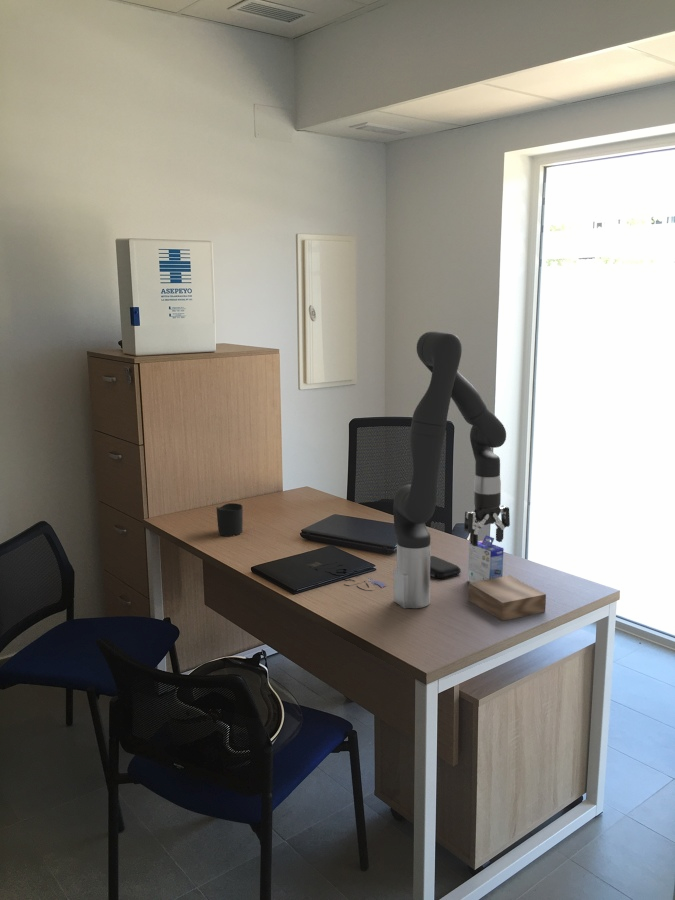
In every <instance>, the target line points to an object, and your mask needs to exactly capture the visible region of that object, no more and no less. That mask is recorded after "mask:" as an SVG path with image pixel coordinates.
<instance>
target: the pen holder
mask: <svg viewBox="0 0 675 900" xmlns="http://www.w3.org/2000/svg"><path fill="white" fill-rule="evenodd" d="M243 509H244V508H243V505H242V504H240V503H235V502H234V503H231V502H230V503H226V504H223V505H221V506H220V507H218V506H217V507H216V517H217V518H216V519H217V531H218V534H219V535H220V536H222V535H224V536H223V537H234V536H233V535H236V536H239V535H241V534H242V533H243V511H244V510H243ZM240 533H241V534H240ZM238 534H239V535H238Z"/></svg>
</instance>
